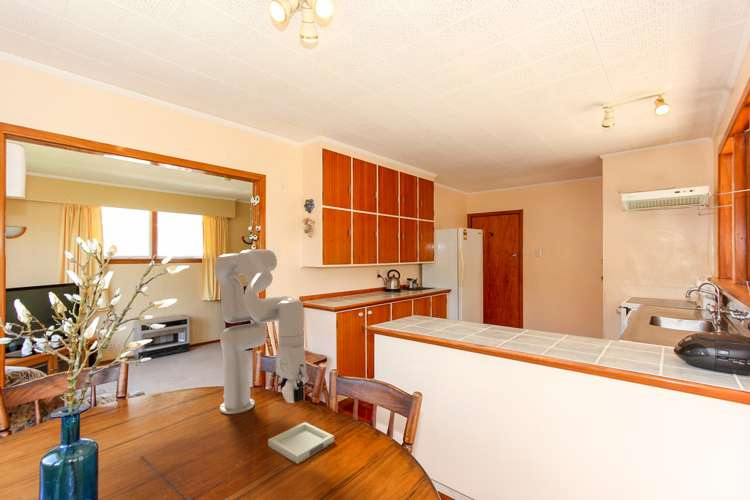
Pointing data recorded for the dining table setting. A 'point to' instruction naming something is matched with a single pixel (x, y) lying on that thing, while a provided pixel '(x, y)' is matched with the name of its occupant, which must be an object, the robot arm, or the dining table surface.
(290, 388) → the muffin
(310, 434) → the tray
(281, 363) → the robot arm
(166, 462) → the dining table surface
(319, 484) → the dining table surface
